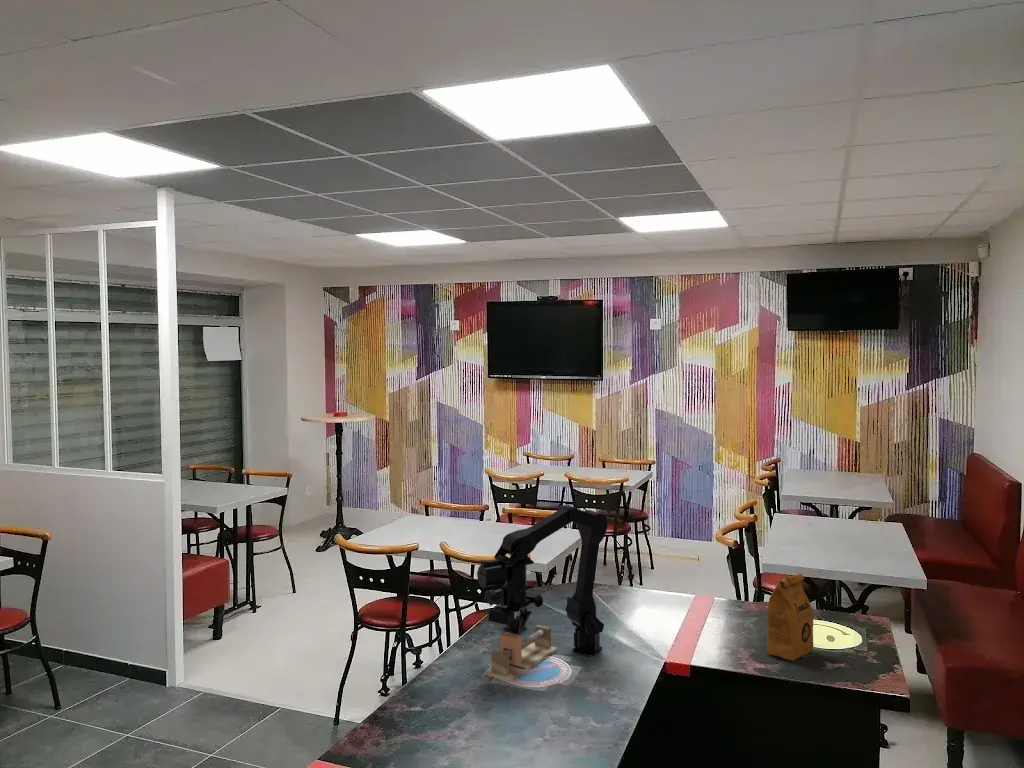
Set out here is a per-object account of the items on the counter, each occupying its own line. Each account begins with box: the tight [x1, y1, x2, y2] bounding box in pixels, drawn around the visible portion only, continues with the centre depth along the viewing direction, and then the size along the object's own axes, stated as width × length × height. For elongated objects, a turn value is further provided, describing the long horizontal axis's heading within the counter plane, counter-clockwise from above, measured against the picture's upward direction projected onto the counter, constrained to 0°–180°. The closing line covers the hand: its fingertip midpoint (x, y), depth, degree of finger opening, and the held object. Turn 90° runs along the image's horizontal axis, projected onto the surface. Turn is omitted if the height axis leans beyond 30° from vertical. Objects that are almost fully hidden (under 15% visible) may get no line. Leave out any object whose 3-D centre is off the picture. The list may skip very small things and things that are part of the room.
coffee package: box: [766, 573, 815, 661], centre depth 204 cm, size 10×12×22 cm
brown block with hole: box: [499, 631, 523, 665], centre depth 195 cm, size 3×5×7 cm, turn 56°
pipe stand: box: [484, 624, 558, 683], centre depth 200 cm, size 24×8×6 cm, turn 146°
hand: (516, 638), depth 197 cm, fingers closed
